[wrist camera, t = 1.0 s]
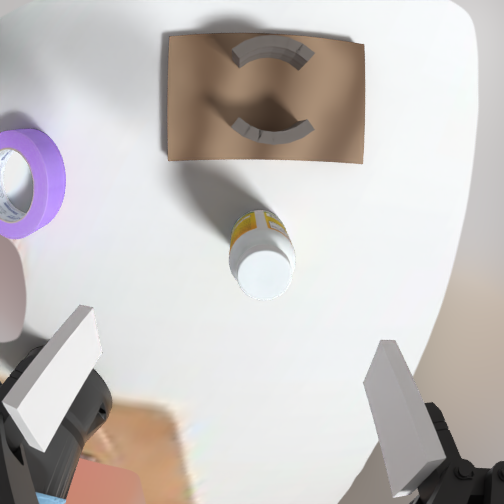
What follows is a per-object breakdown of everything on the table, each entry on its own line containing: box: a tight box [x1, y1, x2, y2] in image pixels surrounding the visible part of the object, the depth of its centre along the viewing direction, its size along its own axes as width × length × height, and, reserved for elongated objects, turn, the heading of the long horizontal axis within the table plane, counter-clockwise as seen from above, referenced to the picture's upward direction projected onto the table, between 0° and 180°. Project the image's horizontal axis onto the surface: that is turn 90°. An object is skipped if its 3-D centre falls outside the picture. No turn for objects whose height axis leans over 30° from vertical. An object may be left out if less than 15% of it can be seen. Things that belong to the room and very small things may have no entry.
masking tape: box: [0, 129, 66, 239], centre depth 27 cm, size 12×12×4 cm
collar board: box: [167, 33, 365, 164], centre depth 25 cm, size 18×12×6 cm, turn 90°
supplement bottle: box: [229, 210, 296, 300], centre depth 27 cm, size 5×5×10 cm
